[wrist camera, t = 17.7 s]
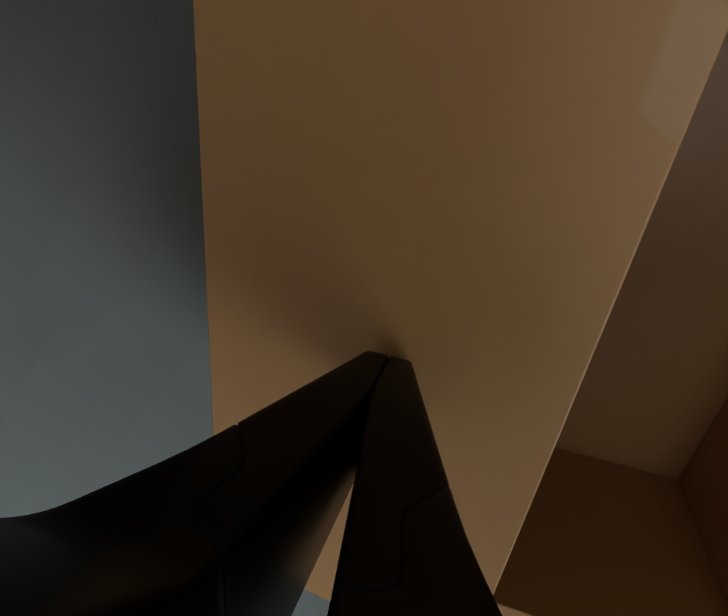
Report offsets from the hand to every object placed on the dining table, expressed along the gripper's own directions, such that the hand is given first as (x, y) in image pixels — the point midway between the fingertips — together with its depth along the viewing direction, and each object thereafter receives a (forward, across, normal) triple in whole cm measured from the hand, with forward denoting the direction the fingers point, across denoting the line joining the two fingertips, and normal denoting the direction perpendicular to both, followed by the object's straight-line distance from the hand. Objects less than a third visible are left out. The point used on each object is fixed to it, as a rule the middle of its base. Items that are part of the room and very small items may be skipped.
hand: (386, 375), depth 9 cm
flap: (0, 0, 0) cm, 1 cm away
